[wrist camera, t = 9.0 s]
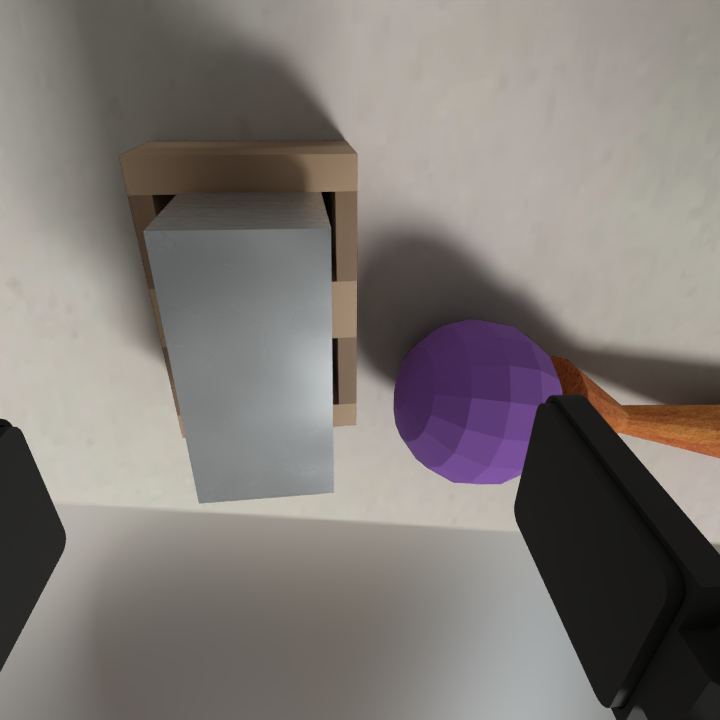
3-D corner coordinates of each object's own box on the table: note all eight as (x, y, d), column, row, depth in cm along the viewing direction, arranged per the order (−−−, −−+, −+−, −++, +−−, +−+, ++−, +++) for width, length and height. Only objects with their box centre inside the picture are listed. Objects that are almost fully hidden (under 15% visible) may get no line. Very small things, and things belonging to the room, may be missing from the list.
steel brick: (314, 169, 16) (331, 228, 10) (319, 363, 19) (333, 492, 13) (199, 169, 15) (143, 231, 9) (226, 367, 19) (199, 503, 13)
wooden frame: (346, 140, 15) (357, 154, 13) (347, 379, 20) (356, 424, 17) (148, 141, 15) (118, 156, 12) (196, 389, 19) (182, 437, 17)
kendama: (782, 529, 23) (387, 515, 17) (698, 431, 27) (361, 390, 21) (908, 450, 19) (463, 394, 13) (788, 351, 24) (413, 274, 17)
